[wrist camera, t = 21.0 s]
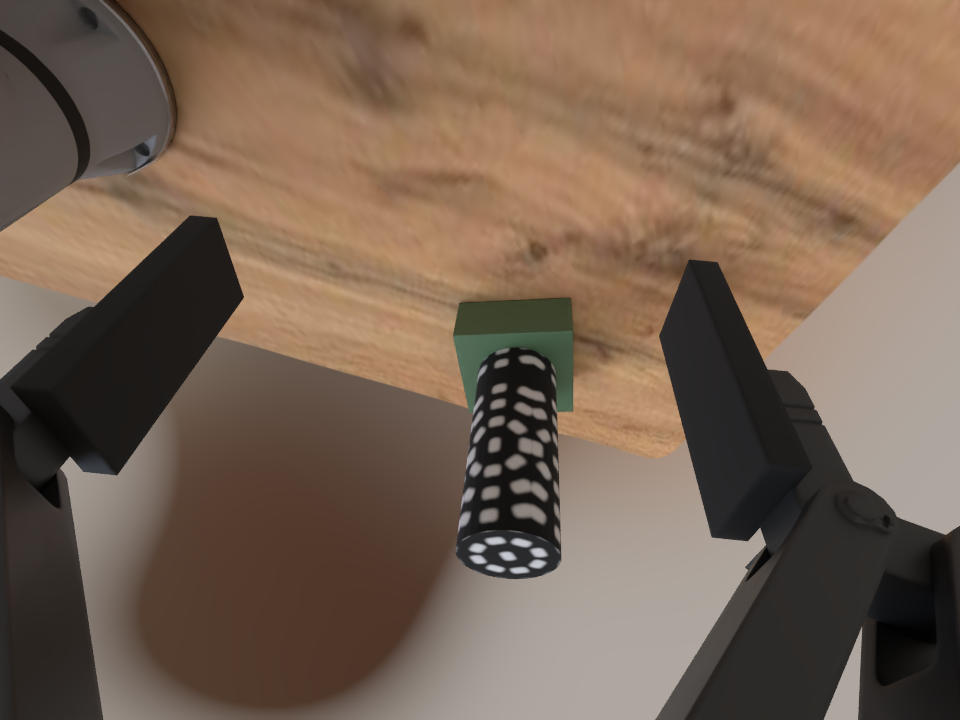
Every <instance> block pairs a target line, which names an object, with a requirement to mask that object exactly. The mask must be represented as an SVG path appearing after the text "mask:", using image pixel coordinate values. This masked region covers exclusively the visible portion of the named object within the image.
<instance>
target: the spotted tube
mask: <svg viewBox="0 0 960 720" xmlns="http://www.w3.org/2000/svg"><path fill="white" fill-rule="evenodd" d="M456 555H457V557H458V559H459V560H460V561H461V562H462V563H463V564H464V565H465V566H467V567H469V568H470V569H472V570H474V571H477V572H479V573H482V574H485V575H489V576H493V577H498V578H507V579H526V578H533V577H538V576H542V575H545V574H547V573H550V572H551V571H553V570H554V569H556V568H557V567H558V566H559V564H560V562H561V535H560V500H559V465H558V431H557V397H556V372H555V368H554V366H553V365H552V363H551V362H550V361H549V360H548V359H547V358H546V357H545V356H543V355H542V354H540V353H538V352H536V351H534V350H530V349H527V348H519V347H516V348H506V349H501V350H498V351H495V352H494V353H492V354H490V355H489V356H488V357H486V358H485V359H484V360H483V362H482V363H481V365H480V368H479V372H478V380H477V388H476V396H475V404H474V411H473V419H472V427H471V435H470V444H469V451H468V458H467V467H466V474H465V482H464V490H463V498H462V506H461V513H460V522H459V529H458V538H457V545H456Z"/></svg>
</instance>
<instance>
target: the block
mask: <svg viewBox="0 0 960 720" xmlns="http://www.w3.org/2000/svg"><path fill="white" fill-rule="evenodd" d="M453 338H454V343H455V347H456V352H457V357H458V362H459V366H460V371H461V376H462V380H463V385H464V390H465V394H466V399H467V404H468V409H469V413H473V411H474V404H475V396H476V388H477V380H478V372H479V368H480V365H481V363H482V362H483V360H484V359H485V358H486V357H488V356H489V355H490V354H492V353H494V352H495V351H498V350H501V349H506V348H516V347H519V348H527V349H530V350H534V351H536V352H538V353H540V354H542V355H543V356H545V357H546V358H547V359H548V360H549V361H550V362H551V363H552V365H553V366H554V368H555V372H556V397H557V412H571V411H573V322H572V308H571V298H558V299H537V300H517V301H496V302H475V303H459V308H458V313H457V318H456V323H455V328H454V334H453Z"/></svg>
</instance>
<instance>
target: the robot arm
mask: <svg viewBox="0 0 960 720" xmlns="http://www.w3.org/2000/svg"><path fill="white" fill-rule="evenodd" d="M175 126H176V107H175V100H174V95H173V91H172V88H171V84H170V81H169V79H168V76H167V73H166V71H165V69H164V67H163V65H162V63H161V61H160V59H159V57H158V55H157V53H156V52H155V50H154V48H153V47H152V45H151V44H150V42H149V41H148V39H147V38H146V36H145V35H144V34H143V32H142V31H141V30H140V28H139V27H138V26H137V25H136V24H135V22H134V21H133V20H132V19H131V18H130V17H129V16H128V15H127V14H126V12H125V11H124V10H123V9H122V8H121V7H120V6H118V5H117V4H116V3H115V2H114V1H113V0H0V232H1V231H2V230H4V229H5V228H7V227H8V226H10V225H11V224H13V223H14V222H15V221H17V220H18V219H20V218H21V217H23V216H24V215H26V214H27V213H29V212H30V211H32V210H33V209H35V208H36V207H38V206H39V205H41V204H42V203H43V202H45V201H46V200H48V199H49V198H51V197H52V196H54V195H55V194H57V193H58V192H60V191H61V190H63V189H64V188H65V187H67V186H68V185H70V184H72V183H73V182H75V181H76V180H80V179H87V178H94V177H102V176H109V175H116V174H123V173H128V172H131V171H134V170H136V171H134V172H133V173H131V174H129V175H132V174H134V173H136V172H138V171H139V170H141V169H143V168H145V167H147V166H148V165H150V164H152V163H154V162H155V161H154V160H155V159H156V158H158V157H159V156H160V155H161V154H162V153H164V152H165V150H166V149H167V148H168V146H169V144H170V142H171V141H172V138H173V135H174V131H175ZM158 160H159V159H158ZM152 161H153V162H152ZM156 161H157V160H156ZM139 168H140V169H139ZM137 169H138V170H137ZM129 175H127V176H129ZM127 176H125V177H127ZM243 298H244V296H243V293H242V290H241V287H240V284H239V281H238V278H237V275H236V272H235V269H234V266H233V264H232V261H231V258H230V255H229V252H228V249H227V246H226V243H225V240H224V237H223V234H222V231H221V228H220V226H219V223H218V220H217V218H212V217H201V216H189V217H188V218H187V219H186V220H185V221H184V222H183V223H182V224H181V225H180V226H179V227H178V228H177V229H175V230H174V231H173V232H172V233H171V234H170V235H169V236H168V237H167V238H166V239H165V240H164V241H163V242H162V243H161V244H160V245H159V246H158V247H157V248H156V249H154V250H153V251H152V252H151V253H150V254H149V255H148V256H147V257H146V258H145V259H144V260H143V261H142V262H141V263H140V264H139V265H138V266H137V267H136V268H135V269H133V270H132V271H131V272H130V273H129V274H128V275H127V276H126V277H125V278H124V279H123V280H122V281H121V282H120V283H119V284H118V285H117V286H116V287H115V288H114V289H112V290H111V291H110V292H109V293H108V294H107V295H106V296H105V297H104V298H103V299H102V300H101V301H100V302H99V303H98V304H97V305H96V306H95V307H87V308H85V309H83V310H82V311H80V312H78V313H76V314H74V315H72V316H71V317H69V318H67V319H65V320H64V322H62V323H61V324H60V325H59V326H58V327H57V328H56V329H55V330H54V331H52V332H51V333H50V337H46V338H45V339H44V340H43V341H42V342H40V343H39V344H38V345H37V346H36V350H32V351H31V352H30V353H29V354H27V355H26V356H25V357H24V358H23V359H22V360H21V361H20V362H19V363H18V364H17V365H16V366H14V367H13V368H12V369H11V370H10V371H9V372H8V373H7V374H6V375H5V376H4V377H3V378H1V379H0V720H103V715H102V709H101V702H100V695H99V689H98V682H97V675H96V668H95V662H94V655H93V649H92V643H91V635H90V629H89V622H88V615H87V609H86V602H85V596H84V589H83V582H82V576H81V569H80V562H79V556H78V549H77V542H76V536H75V529H74V522H73V516H72V509H71V503H70V496H69V490H68V483H67V478H66V476H65V475H64V473H63V471H62V470H61V469H60V467H61V466H62V465H63V464H64V463H65V461H66V460H67V459H68V458H69V457H71V458H72V459H73V460H74V461H75V462H76V464H77V465H78V466H79V467H80V468H81V469H82V470H83V472H91V473H100V474H110V475H118V473H119V472H120V471H121V469H122V468H123V466H124V465H125V464H126V462H127V461H128V459H129V458H130V457H131V455H132V454H133V452H134V451H135V450H136V448H137V447H138V445H139V444H140V442H141V441H142V440H143V438H144V437H145V436H146V434H147V433H148V431H149V430H150V428H151V427H152V425H153V424H154V423H155V422H156V420H157V419H158V417H159V416H160V415H161V413H162V412H163V410H164V409H165V407H166V406H167V405H168V403H169V402H170V400H171V399H172V398H173V396H174V395H175V393H176V392H177V391H178V389H179V388H180V386H181V385H182V384H183V382H184V381H185V379H186V378H187V377H188V375H189V374H190V372H191V371H192V370H193V368H194V367H195V365H196V364H197V363H198V361H199V360H200V358H201V357H202V356H203V354H204V353H205V351H206V350H207V349H208V347H209V346H210V344H211V343H212V341H213V340H214V339H215V337H216V336H217V335H218V333H219V332H220V330H221V329H222V328H223V326H224V325H225V323H226V322H227V321H228V319H229V318H230V316H231V315H232V314H233V312H234V311H235V309H236V308H237V307H238V305H239V304H240V302H241V301H242V300H243ZM659 337H660V341H661V345H662V349H663V352H664V356H665V360H666V364H667V368H668V372H669V375H670V379H671V383H672V387H673V391H674V395H675V398H676V402H677V406H678V410H679V414H680V417H681V421H682V425H683V429H684V433H685V437H686V440H687V444H688V448H689V452H690V456H691V460H692V463H693V467H694V471H695V474H696V479H697V483H698V486H699V490H700V494H701V498H702V501H703V505H704V509H705V513H706V517H707V521H708V524H709V528H710V532H711V536H712V537H714V538H722V539H732V540H742V541H748V540H749V539H750V538H751V537H752V536H753V535H754V534H755V533H756V531H757V530H758V529H759V528H761V531H762V534H763V537H764V540H765V542H766V546H765V547H764V548H763V549H762V550H761V551H760V552H759V553H758V554H757V555H756V556H755V557H754V559H752V561H751V562H750V563H749V564H748V565H747V566H746V567H745V568H746V569H748V572H747V573H746V575H745V577H744V578H743V580H742V581H741V583H740V585H739V586H738V588H737V589H736V591H735V593H734V594H733V596H732V597H731V600H730V601H729V602H728V604H727V606H726V607H725V609H724V611H723V612H722V614H721V616H720V617H719V618H718V620H717V622H716V623H715V625H714V626H713V628H712V630H711V631H710V633H709V635H708V636H707V638H706V639H705V641H704V643H703V644H702V646H701V647H700V649H699V651H698V652H697V654H696V655H695V657H694V659H693V660H692V662H691V664H690V665H689V667H688V668H687V670H686V672H685V673H684V675H683V676H682V678H681V680H680V681H679V683H678V685H677V686H676V688H675V689H674V691H673V692H672V694H671V696H670V697H669V699H668V701H667V702H666V704H665V705H664V707H663V709H662V710H661V712H660V713H659V715H658V717H657V718H656V720H824V717H825V715H826V712H827V710H828V708H829V705H830V703H831V700H832V698H833V695H834V693H835V691H836V688H837V685H838V683H839V681H840V678H841V676H842V673H843V671H844V669H845V666H846V664H847V661H848V659H849V656H850V654H851V652H852V649H853V647H854V644H855V642H856V639H857V637H858V635H859V632H860V629H861V627H862V646H861V668H860V692H859V714H858V720H960V526H959V527H957V528H956V529H954V530H953V531H951V532H950V533H948V534H947V535H944V534H941V533H938V532H936V531H933V530H930V529H927V528H925V527H922V526H919V525H916V524H914V523H911V522H908V521H905V520H902V519H900V518H898V517H896V514H895V512H894V511H893V509H892V508H891V507H890V506H889V505H888V504H887V502H886V501H885V500H884V499H883V498H881V497H880V496H879V495H877V494H876V493H875V492H874V491H872V490H871V489H869V488H867V487H865V486H863V485H861V484H858V483H856V482H854V481H853V479H852V477H851V475H850V474H849V472H848V470H847V468H846V466H845V464H844V462H843V460H842V458H841V456H840V454H839V452H838V450H837V449H836V447H835V445H834V443H833V441H832V439H831V437H830V435H829V433H828V432H827V429H826V428H825V426H824V425H822V420H821V418H820V416H819V414H818V412H817V411H816V410H814V405H813V403H812V401H811V399H810V397H809V395H808V393H807V391H806V389H805V388H804V387H803V386H802V385H801V384H800V383H799V382H798V381H797V380H796V379H795V378H794V377H793V376H792V375H791V374H790V373H789V372H788V371H777V370H768V369H767V368H766V366H765V364H764V361H763V359H762V357H761V355H760V353H759V350H758V348H757V346H756V344H755V342H754V340H753V338H752V335H751V333H750V331H749V329H748V327H747V325H746V323H745V320H744V318H743V316H742V314H741V312H740V310H739V307H738V305H737V303H736V301H735V299H734V297H733V295H732V292H731V290H730V288H729V286H728V284H727V282H726V280H725V277H724V275H723V273H722V271H721V269H720V267H719V264H718V262H710V261H698V260H689V261H688V264H687V266H686V269H685V271H684V274H683V276H682V279H681V282H680V284H679V287H678V289H677V292H676V294H675V297H674V299H673V302H672V305H671V307H670V310H669V312H668V315H667V317H666V320H665V322H664V325H663V328H662V330H661V333H660V335H659Z"/></svg>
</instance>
